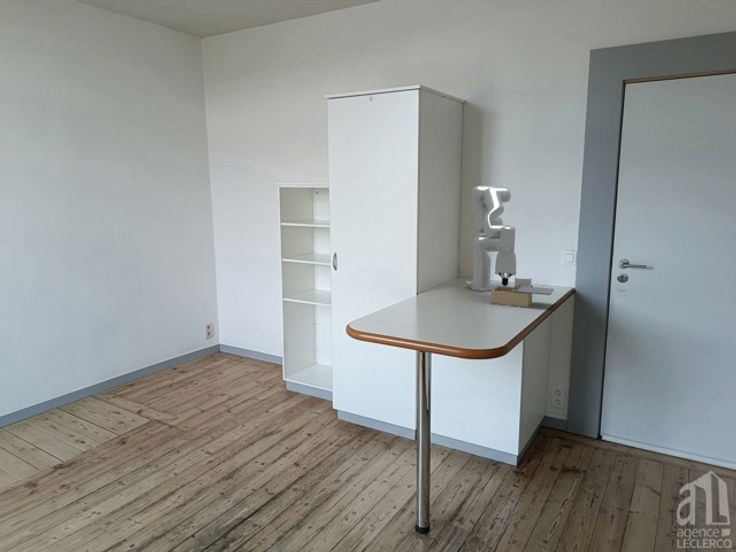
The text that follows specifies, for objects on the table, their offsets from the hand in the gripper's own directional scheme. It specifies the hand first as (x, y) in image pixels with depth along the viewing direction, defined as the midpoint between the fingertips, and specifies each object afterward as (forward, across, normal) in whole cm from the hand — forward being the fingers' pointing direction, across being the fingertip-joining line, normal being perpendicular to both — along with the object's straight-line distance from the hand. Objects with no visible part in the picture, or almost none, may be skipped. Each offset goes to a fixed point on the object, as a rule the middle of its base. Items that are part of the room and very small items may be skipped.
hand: (504, 285), depth 262 cm
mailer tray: (+9, +4, 0) cm, 10 cm away
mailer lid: (+1, +14, 0) cm, 14 cm away
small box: (+9, +6, +20) cm, 23 cm away
